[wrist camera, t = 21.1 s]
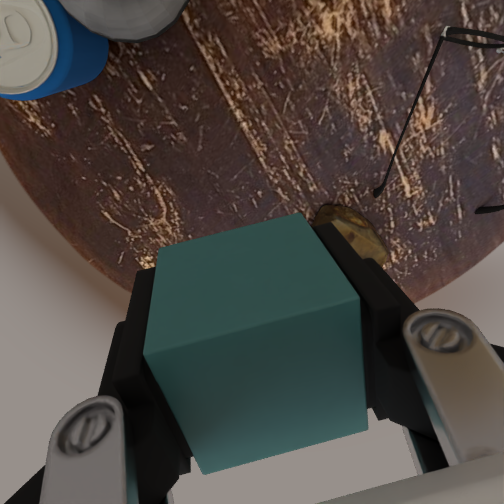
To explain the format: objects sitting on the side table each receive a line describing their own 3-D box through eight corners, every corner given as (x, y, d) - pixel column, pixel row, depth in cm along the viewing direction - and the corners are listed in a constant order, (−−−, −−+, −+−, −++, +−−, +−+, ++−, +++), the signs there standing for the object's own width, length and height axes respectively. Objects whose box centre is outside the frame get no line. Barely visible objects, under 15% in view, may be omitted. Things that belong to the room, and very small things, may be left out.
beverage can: (2, -9, 26) (-121, -49, 16) (95, -18, 26) (35, -63, 16) (38, 90, 29) (-44, 111, 19) (120, 79, 30) (84, 95, 19)
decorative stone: (397, 230, 41) (414, 244, 38) (351, 294, 44) (363, 312, 41) (321, 193, 37) (333, 206, 34) (277, 267, 41) (284, 284, 38)
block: (157, 247, 10) (141, 354, 6) (301, 210, 10) (361, 297, 6) (198, 352, 12) (202, 476, 8) (317, 320, 12) (369, 431, 8)
